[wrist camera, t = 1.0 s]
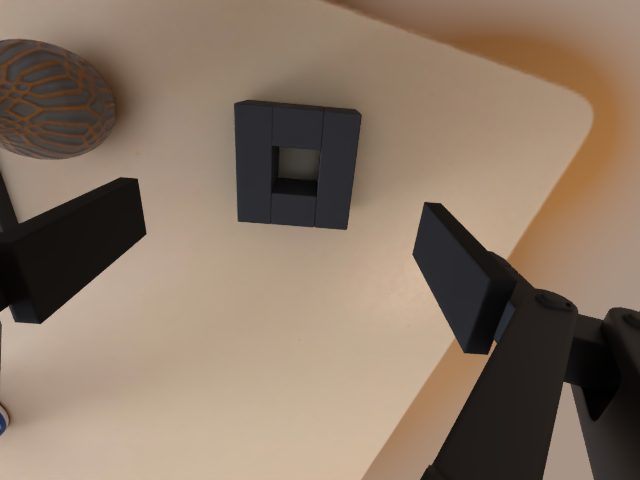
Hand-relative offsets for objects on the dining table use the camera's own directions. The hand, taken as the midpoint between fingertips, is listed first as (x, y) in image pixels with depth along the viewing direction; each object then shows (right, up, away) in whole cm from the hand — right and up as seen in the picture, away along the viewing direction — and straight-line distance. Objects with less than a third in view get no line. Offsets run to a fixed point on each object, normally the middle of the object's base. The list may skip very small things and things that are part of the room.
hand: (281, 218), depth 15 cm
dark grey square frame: (0, +5, +10) cm, 12 cm away
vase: (-16, +9, +9) cm, 20 cm away
